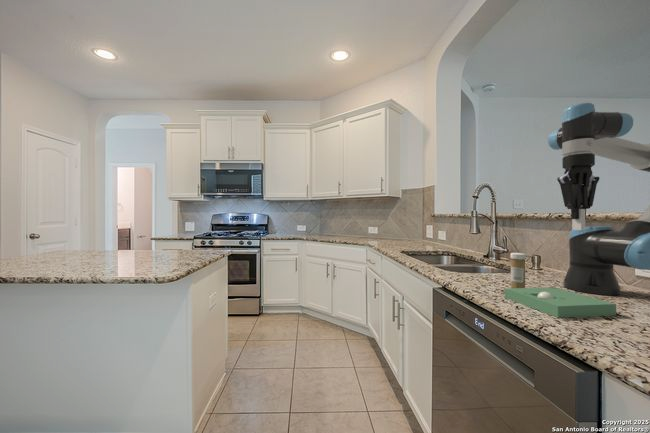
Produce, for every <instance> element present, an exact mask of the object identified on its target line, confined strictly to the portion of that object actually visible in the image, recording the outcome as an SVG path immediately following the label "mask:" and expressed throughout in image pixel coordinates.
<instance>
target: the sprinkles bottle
mask: <svg viewBox="0 0 650 433" xmlns="http://www.w3.org/2000/svg"><path fill="white" fill-rule="evenodd" d="M526 255H527V254H526V253H522V252H511V253H510V255H509V256H510V257H509V258H510V288H526V259H527V256H526Z"/></svg>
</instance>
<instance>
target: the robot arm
mask: <svg viewBox="0 0 650 433" xmlns="http://www.w3.org/2000/svg"><path fill="white" fill-rule="evenodd" d="M633 126H634V117H633V116H632V115H631V114H629V113H625V112H619V111H615V112H611V111H610V112H609V111H608V112H607V111H604V112H602V111H596V108H595V104H593V103H592V102H582V103H576V104H572V105H571V106H568V107H566V108H565V109H563V111H562V117H561V127H560V128H558V129H556V130H553V131H551V132H550V133H549V135H548V137H547V144H548V146H549V147H550V149H552V150H555V151H558V150H561V154H562V156H563V157H562V162H561V163H562V169H564V174H563V175H562V176H559V177H557V178H556V180H557V182H558V183H559V186H560V190H561V194H562V200H563V204H564V207H565V208H567V209H568V210H571V211H570V212H571V213H570V214H571V216H570V218H571V224H572V225H571V226H572V228H571V230H570V233H569V239H568V241H569V242H568V243H569V245H568V246H569V266H568V270H567V271H566V274H565V277H564V279H563V283H562V284H563V285H562V286H563V287H564V288H567V289H569V290H572V291H575V292H576V291H577V292H580V293H581V292H582V293H585V294H586V293H588V294H594V295H606V296H617V295H620V294H621V293H622V292H621V286H620V284H619V280H618V279H617V276H616V275H615V274H616V273H615V271H614V266H619V267H620V266H621V267H626V268H633V269H636V270H641V271H642V270H643V271H644V270H645V271H646V270H647V271H650V204H649V205H648V206H647V208H645V210H644V211H643V212H642V214H641V215H640V216H639V217H638V218H637V219H633V220H629V221H627V222H626V224H625V225H624V226H623V227H622V228H621V229H620V230H615V229H614V227H613V226H610V225H608V226H605V225H602V226H586V219H587V210H588V209H591V208H592V207H593V205H594V200H595V194H596V189H597V186H598V183H599V181H600V180H601V179H600V176H594V175H593V170H592V167H594V166H595V164H596V160H595V159H596V156H598V157H600V158H605V159H608V160H613V161H617V162H619V163H624V164H626V165H627V164H628V165H629V166H630V167H632V168H633V169H636V170H638V171H639V170H640V171H644V172H647V173H650V143H645V144H644V143H640V142H636V141H632V140H628V139H625V138H621V137H623V136H625V135H627V134H628V133H629V132H630V131H631V130H632V128H633Z"/></svg>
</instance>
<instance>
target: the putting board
mask: <svg viewBox="0 0 650 433" xmlns="http://www.w3.org/2000/svg"><path fill="white" fill-rule="evenodd" d="M541 292H548V293H550V294H552V295H553V297H554V299H545V298H539V297H537V296H538V294H539V293H541ZM504 298H505V299H507V300H510V301H513V302H515V303H518V304H521V305H523V306H526V307H529V308H532V309H534V310H536V311H540V312H542V313H544V314H546V315H550V316H552V317H555V318H557V319H558V318H578V317H599V316H600V317H602V316H604V317H605V316H616V315H617V303H614V302H610V301H606V300H603V299H599V298H595V297H592V296H588V295H585V294H580V293H577V292H573V291H568V290H565V289H562V288H558V287H554V286H548V287H547V286H546V287H525V288H511V287H509V288H504Z"/></svg>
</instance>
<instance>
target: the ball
mask: <svg viewBox="0 0 650 433" xmlns="http://www.w3.org/2000/svg"><path fill="white" fill-rule="evenodd" d="M537 297H539V298H545V299H554V297H553V295H552V294H550V293H548V292H541V293H539V294H538V296H537Z"/></svg>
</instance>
